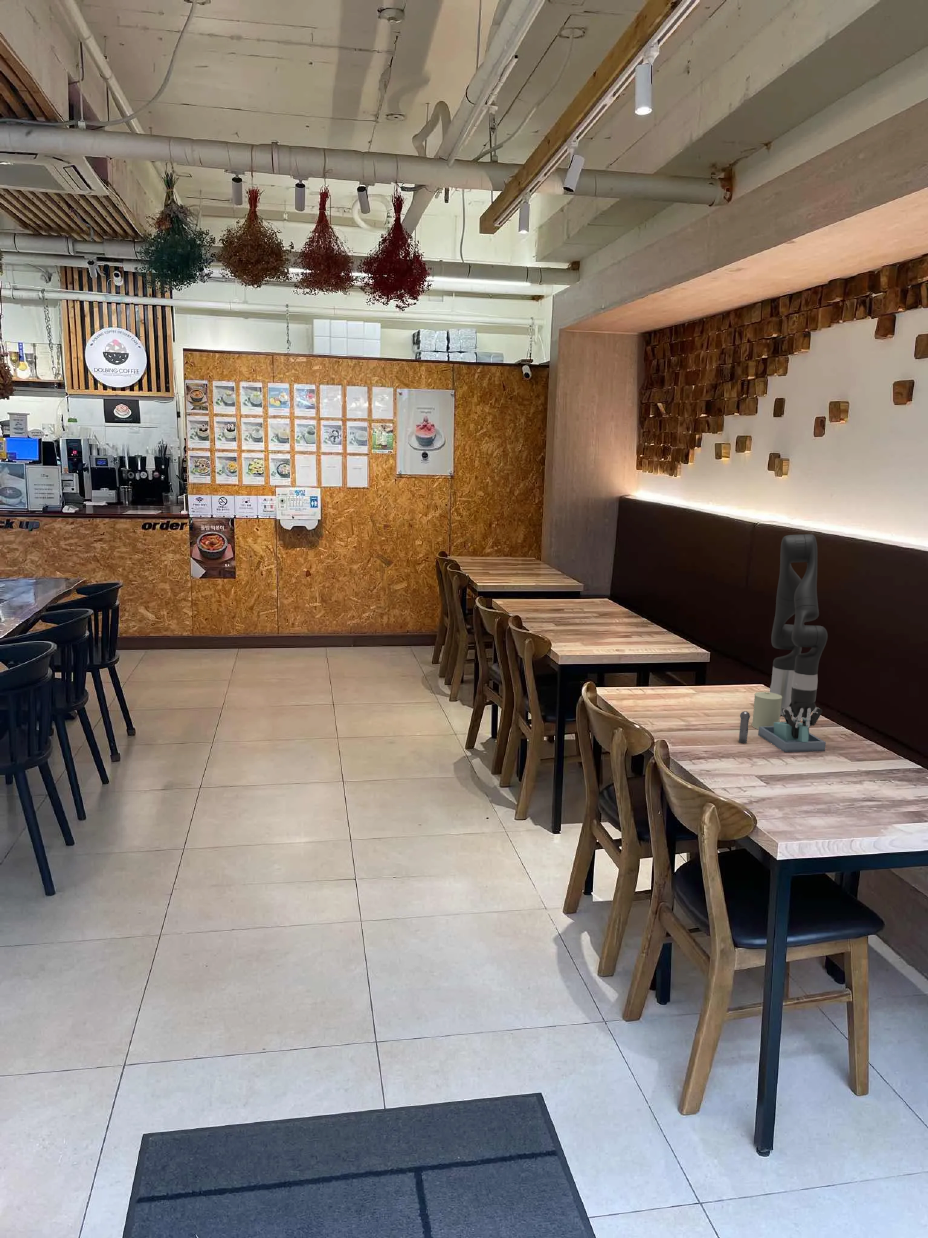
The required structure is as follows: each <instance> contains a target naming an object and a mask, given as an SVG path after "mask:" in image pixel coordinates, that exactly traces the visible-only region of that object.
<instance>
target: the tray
mask: <svg viewBox="0 0 928 1238" xmlns="http://www.w3.org/2000/svg"><path fill="white" fill-rule="evenodd" d="M757 735H758V736H759V737H760V738H762V739H764V740H765V741H767V742H768V743H769V744H771V743H772V744H771V745H773V746H774V745H775V746H774V747H776V748H777V749H779V750H780V749H781V751H782V752H783V751H784V753H803V752H807V753H809V752H826V744H827V742H826V741H824V740H823V739H821V737H818V736H816V735H815V734H812V733H811V732H809V740H808V742H800V741H796V740H787V741H786V740H782V739H781V738H779V737H778V736H776V735H774V726H762V727H759V730H758V734H757Z"/></svg>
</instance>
